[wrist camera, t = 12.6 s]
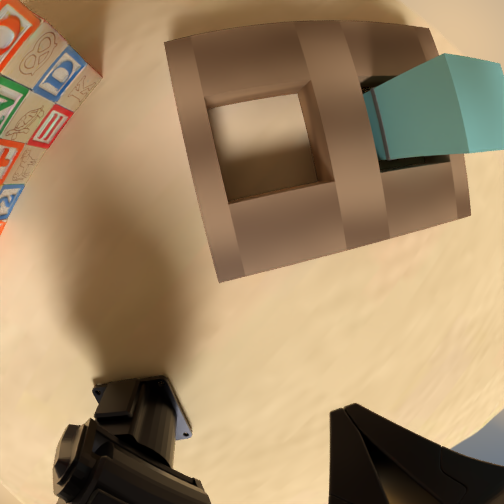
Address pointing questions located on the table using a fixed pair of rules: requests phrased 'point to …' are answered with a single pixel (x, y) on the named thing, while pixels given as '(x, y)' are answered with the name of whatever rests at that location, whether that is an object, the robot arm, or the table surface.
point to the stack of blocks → (33, 94)
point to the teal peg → (439, 109)
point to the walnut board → (320, 137)
